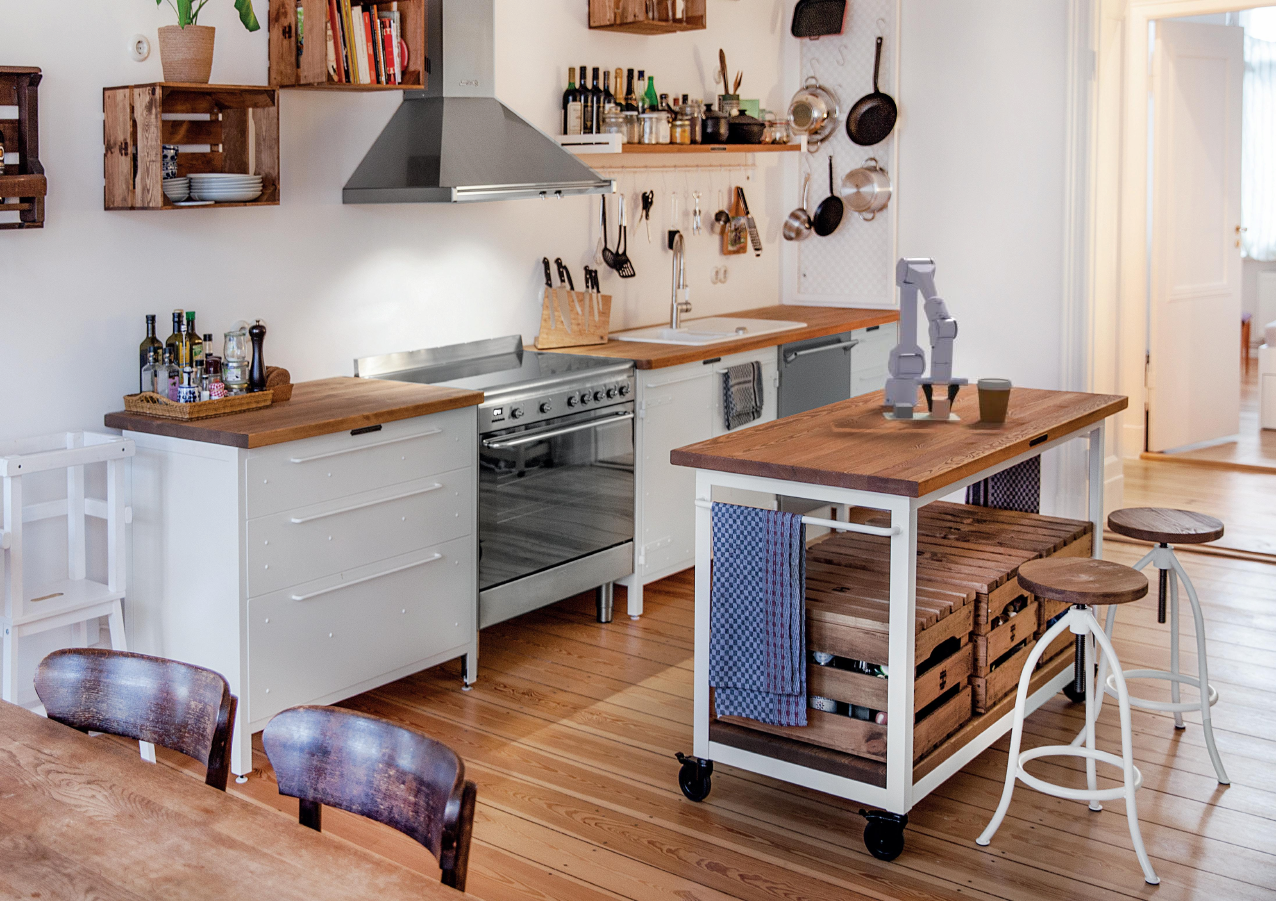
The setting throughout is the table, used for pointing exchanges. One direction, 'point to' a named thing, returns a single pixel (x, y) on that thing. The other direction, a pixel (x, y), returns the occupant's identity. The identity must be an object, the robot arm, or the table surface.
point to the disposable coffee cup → (993, 398)
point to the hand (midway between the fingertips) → (939, 411)
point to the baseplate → (920, 417)
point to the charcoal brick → (903, 410)
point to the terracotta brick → (940, 408)
